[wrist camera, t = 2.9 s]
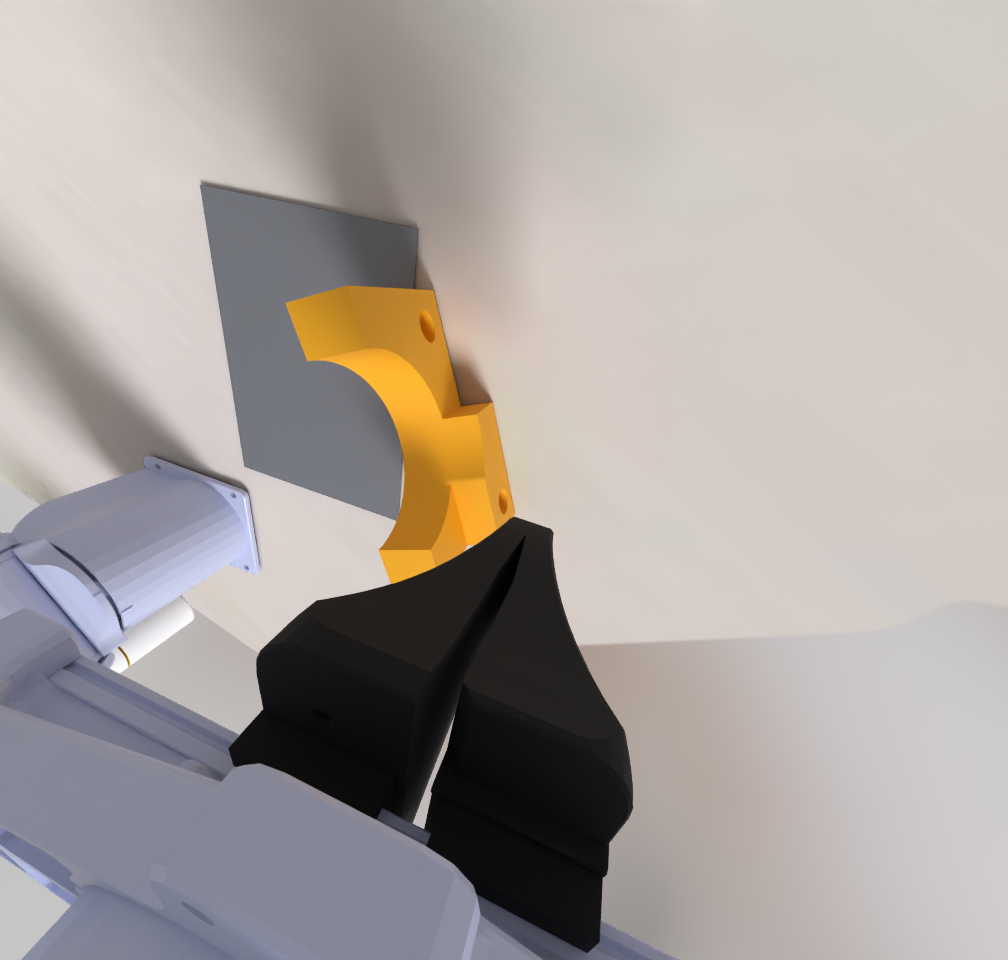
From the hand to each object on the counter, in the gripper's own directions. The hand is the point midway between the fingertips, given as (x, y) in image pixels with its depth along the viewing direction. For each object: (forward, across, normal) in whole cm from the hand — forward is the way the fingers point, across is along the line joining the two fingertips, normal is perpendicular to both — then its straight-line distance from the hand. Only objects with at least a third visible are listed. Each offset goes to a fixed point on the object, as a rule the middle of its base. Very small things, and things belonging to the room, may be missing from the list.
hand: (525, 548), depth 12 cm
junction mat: (+8, +15, 0) cm, 17 cm away
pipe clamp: (+9, +6, 0) cm, 11 cm away
